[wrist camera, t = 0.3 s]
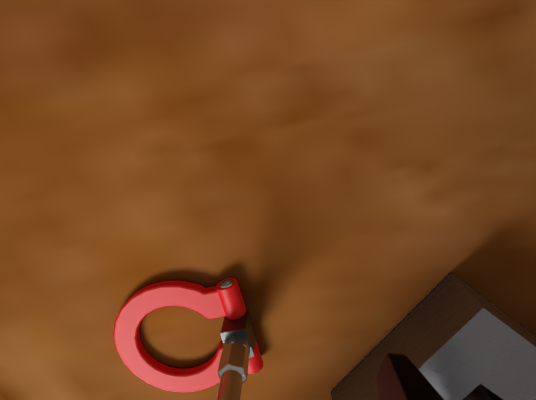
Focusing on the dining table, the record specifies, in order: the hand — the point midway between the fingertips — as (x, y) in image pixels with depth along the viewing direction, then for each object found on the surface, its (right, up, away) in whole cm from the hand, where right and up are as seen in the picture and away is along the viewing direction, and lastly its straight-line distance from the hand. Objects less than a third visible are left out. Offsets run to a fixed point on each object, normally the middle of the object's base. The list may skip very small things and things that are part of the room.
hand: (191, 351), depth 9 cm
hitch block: (+15, -9, +19) cm, 26 cm away
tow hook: (-4, -5, +18) cm, 19 cm away
